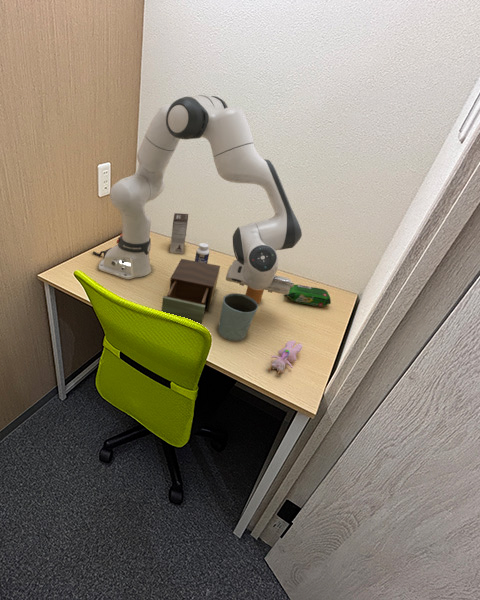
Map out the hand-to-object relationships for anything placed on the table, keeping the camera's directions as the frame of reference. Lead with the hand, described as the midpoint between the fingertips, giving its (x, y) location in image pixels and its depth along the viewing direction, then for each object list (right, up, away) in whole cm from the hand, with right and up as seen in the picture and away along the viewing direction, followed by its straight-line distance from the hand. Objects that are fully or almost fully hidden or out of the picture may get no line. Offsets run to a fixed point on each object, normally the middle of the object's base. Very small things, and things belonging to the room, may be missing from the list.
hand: (256, 286), depth 118 cm
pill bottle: (-12, +10, +28) cm, 32 cm away
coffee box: (-20, +19, +41) cm, 50 cm away
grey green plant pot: (-12, -15, -9) cm, 21 cm away
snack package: (+21, -5, +6) cm, 22 cm away
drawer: (-26, -10, -3) cm, 28 cm away
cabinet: (-20, -3, +8) cm, 22 cm away
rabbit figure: (0, -23, -20) cm, 30 cm away
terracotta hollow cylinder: (+1, -5, +6) cm, 8 cm away
